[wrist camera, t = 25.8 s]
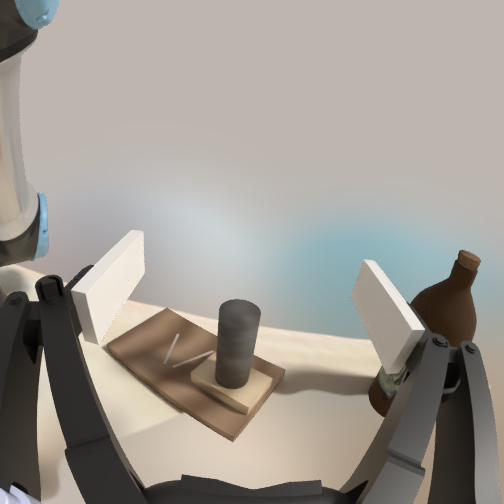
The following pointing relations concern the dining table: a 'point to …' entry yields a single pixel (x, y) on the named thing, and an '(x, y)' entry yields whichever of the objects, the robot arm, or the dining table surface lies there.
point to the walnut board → (184, 369)
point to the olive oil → (436, 321)
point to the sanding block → (234, 359)
